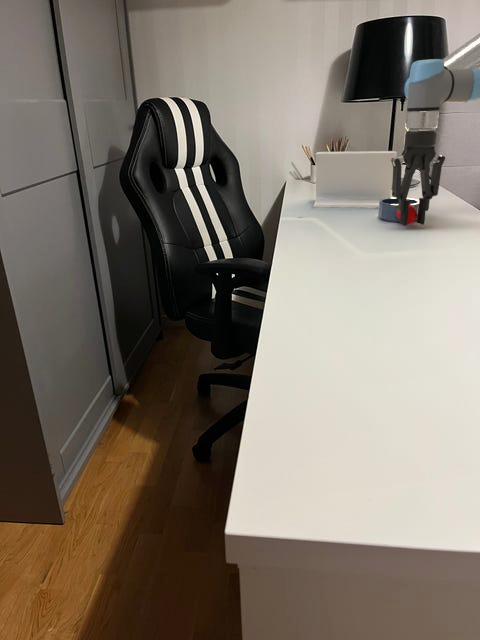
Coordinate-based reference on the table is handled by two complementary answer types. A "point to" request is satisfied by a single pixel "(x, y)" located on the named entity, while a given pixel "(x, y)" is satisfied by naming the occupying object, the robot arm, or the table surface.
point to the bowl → (393, 208)
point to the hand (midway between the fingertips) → (411, 223)
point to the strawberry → (409, 214)
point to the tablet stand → (353, 178)
